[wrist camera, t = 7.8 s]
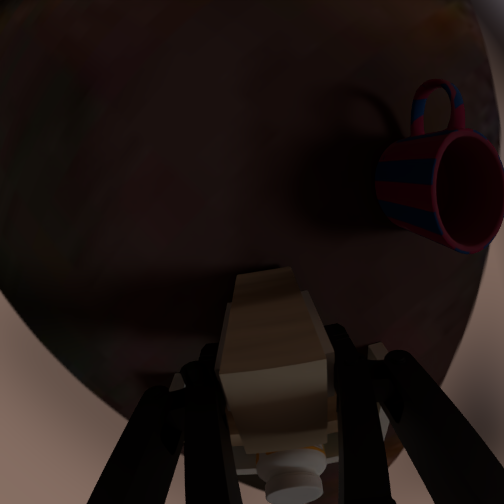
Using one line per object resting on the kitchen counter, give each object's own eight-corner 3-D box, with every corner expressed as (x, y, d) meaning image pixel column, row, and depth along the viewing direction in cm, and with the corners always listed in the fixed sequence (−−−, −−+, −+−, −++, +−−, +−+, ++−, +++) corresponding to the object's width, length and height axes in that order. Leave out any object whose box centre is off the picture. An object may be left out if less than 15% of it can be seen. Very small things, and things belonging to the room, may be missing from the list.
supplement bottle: (278, 381, 21) (288, 477, 12) (326, 400, 22) (349, 485, 13) (244, 415, 22) (241, 502, 13) (290, 431, 23) (299, 511, 14)
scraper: (175, 283, 18) (111, 376, 9) (352, 255, 18) (435, 328, 8) (213, 403, 21) (197, 501, 11) (353, 382, 20) (391, 474, 11)
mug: (371, 228, 18) (424, 255, 11) (370, 88, 15) (420, 55, 9) (442, 230, 18) (501, 253, 11) (442, 107, 15) (500, 92, 9)
